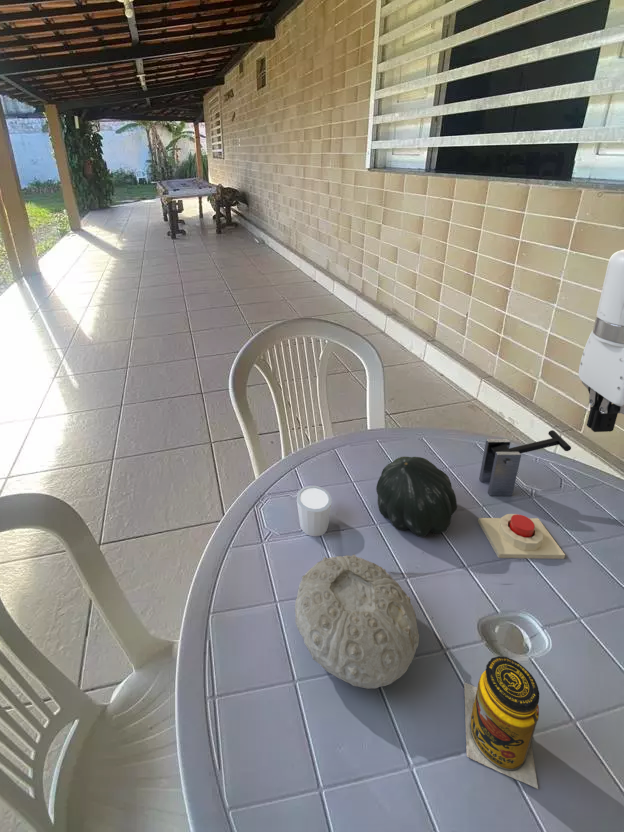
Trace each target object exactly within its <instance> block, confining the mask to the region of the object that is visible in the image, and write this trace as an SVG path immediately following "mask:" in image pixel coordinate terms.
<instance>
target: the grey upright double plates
mask: <svg viewBox="0 0 624 832" xmlns="http://www.w3.org/2000/svg"><path fill="white" fill-rule="evenodd" d="M501 445H506V446H507V447H508V448H511V447H510V446H511V441H510V440H509V439H508V438H505V439H504V438H492V439H491V438H490V439H489V438H486V439H485V445H484V450H483V454H482V455H483V456H482V460H481V465H480V466H481V467H480V472H479V477H478V480H479V482H480V483H489V485H488V489H487V494H488V495H489V497H513V494H514V489H515V485H516V479H517V477H518V476H517V475H518V471H519V466H520V463H521V459H522V458H521V457H522V453H521V454H520V453H519V452H496V453H495V458H494V457H493V454H492V449H491V448H492V447H496V446H501Z"/></svg>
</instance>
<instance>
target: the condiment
mask: <svg viewBox="0 0 624 832" xmlns="http://www.w3.org/2000/svg"><path fill="white" fill-rule="evenodd" d="M463 687H464V688H463V689H464V719H465V721H464V722H465V724H464V725H465V743H466V744H465V749H466V751H465V753H466V757H467V758H469V759H471V760H473V761H475V762H477V763H479V764H482V765H483V766H485V767H487V768H490V769H492V770H494V771H496V772H497V773H501V774H503V775H505V776H507V777H510V778H511V779H514V780H516V781H518V782H522V783H524V784H526V785H527V786H528V785H529V786H530V787H532V788H534V789H536V790H539V786H538V780H537V778H538V777H537V772H536V764H535V759H534V751H533V744H532V739H533V737H534V733H535V730H536V727H537V724H538V721H539V717H540V708H539V703H540V690H539V686H538V683H537V681H536V679H535V677H534V676H533V674H532V673H530V672H529V670H527V668H525V666H523V665H522V664H521V663H519V662H518V661H517V660H515V659H512V658H510V657H508V656H501V655H498V656H495V657H492V658H490V660H489V661H487V664H486V667H485V670H484V671H482V673H481V674H480V677H479V680H478V683H477V686H474V685H472V684H470V683H467V682H463Z"/></svg>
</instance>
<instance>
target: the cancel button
mask: <svg viewBox="0 0 624 832" xmlns="http://www.w3.org/2000/svg"><path fill="white" fill-rule="evenodd" d="M516 514H517V515H513V516H512V517H511V521H510V529H511V530H512V531H513V532H514V533H515V534H517V535H519V536H521V537H525V538H528V537H531V536H532V535H533V532H534V528H535V525H534V523H533V522H532V520H530V519H529V518H530V517H528V516H526V515H523V514H518V513H516Z"/></svg>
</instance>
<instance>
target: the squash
mask: <svg viewBox="0 0 624 832" xmlns="http://www.w3.org/2000/svg"><path fill="white" fill-rule="evenodd" d="M375 490H376V493H377V507H378V512H379V513H380V515H381V516H383V517H384V518H386V519H388V520H389V522H390V523H391V524H392V527H394V528H395V529H397V530H399V531H401V530H402V531H404V530H405V531H406V530H410V532H411V533H412V534H414V535H415V536H417V537H420V538H424V537H426V536H427V535H428V534H429V533H430V532H431V533H434V534H438V535H439V534H442V533H444V532H445V531H447V530H448V528H449V527H450V525H451V522H452V517H453V515H454V513H455V512H456V510H457V509H458V502H457V497H456V493H455V491H454V489H453V485H452V482H451V480H450V477H449V476H448V474H446V472H444V471H443V470H442V469H439V468H438V467H437V466H436V465H435V464H434V463H432V462H431V461H430V460H428V459H427V458H424V457H421V456H400V457H398V458H396V459H394V460H392V461H391V462H389V463H387V464H386V465H385V466H384V467H383V469H382V471H381V475H380V476H379V478H378V480H377V483H376V487H375Z"/></svg>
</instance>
